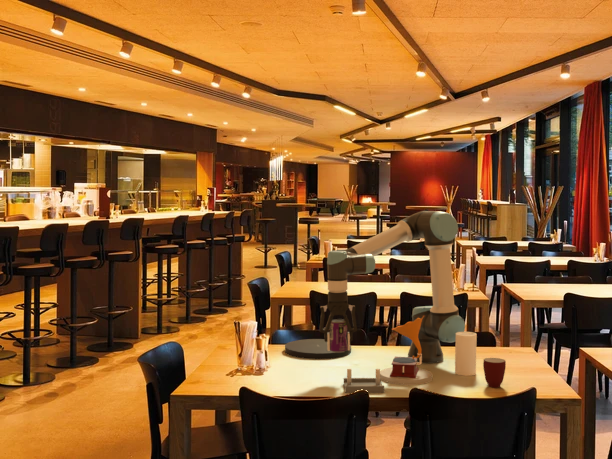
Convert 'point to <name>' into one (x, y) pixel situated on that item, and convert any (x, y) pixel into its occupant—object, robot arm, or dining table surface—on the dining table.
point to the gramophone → (407, 360)
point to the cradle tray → (363, 383)
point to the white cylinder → (465, 353)
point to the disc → (312, 349)
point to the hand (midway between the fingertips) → (338, 349)
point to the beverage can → (338, 336)
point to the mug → (494, 371)
